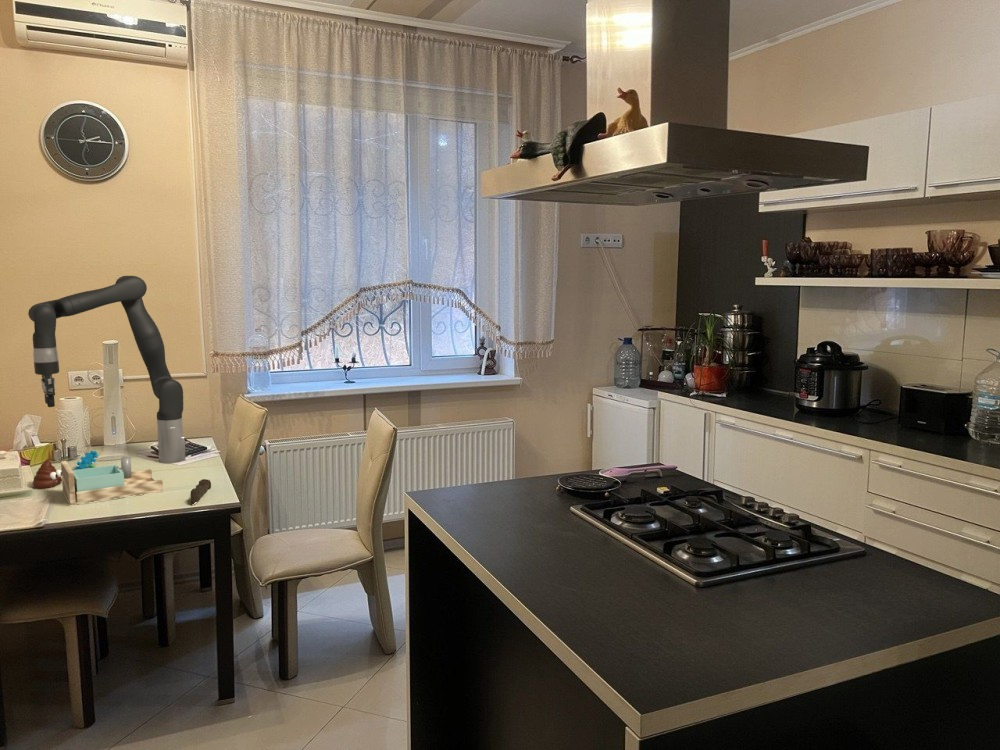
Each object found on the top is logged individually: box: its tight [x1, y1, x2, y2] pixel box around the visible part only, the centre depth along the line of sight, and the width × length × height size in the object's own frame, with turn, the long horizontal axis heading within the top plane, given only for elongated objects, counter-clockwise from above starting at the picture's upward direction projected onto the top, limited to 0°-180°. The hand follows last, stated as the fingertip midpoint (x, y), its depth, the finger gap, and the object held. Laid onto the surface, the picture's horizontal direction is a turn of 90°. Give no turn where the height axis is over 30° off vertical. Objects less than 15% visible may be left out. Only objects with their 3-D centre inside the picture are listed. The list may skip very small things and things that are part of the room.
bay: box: [60, 460, 164, 506], centre depth 256 cm, size 28×18×11 cm, turn 127°
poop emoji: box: [32, 458, 62, 490], centre depth 263 cm, size 10×8×9 cm
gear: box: [74, 450, 99, 470], centre depth 283 cm, size 11×6×10 cm
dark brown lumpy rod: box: [190, 478, 212, 505], centre depth 253 cm, size 19×4×5 cm, turn 7°
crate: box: [72, 456, 132, 495], centre depth 254 cm, size 18×13×10 cm
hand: (50, 405), depth 267 cm, fingers open, 8 cm apart
